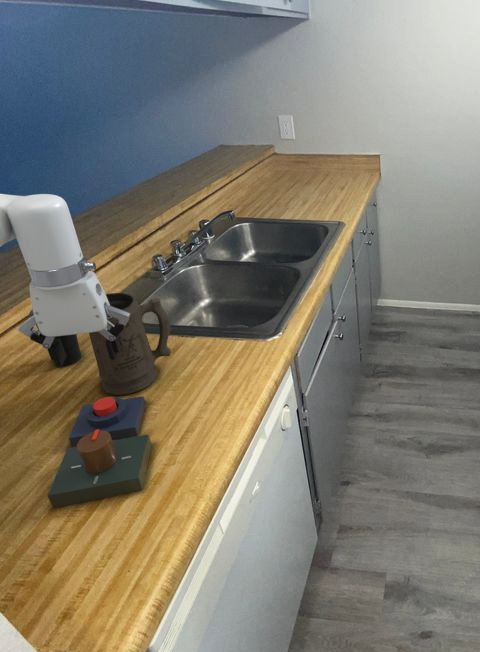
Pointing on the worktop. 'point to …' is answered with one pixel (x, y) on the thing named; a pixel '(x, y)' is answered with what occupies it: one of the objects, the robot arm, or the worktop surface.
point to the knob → (97, 451)
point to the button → (105, 406)
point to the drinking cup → (68, 346)
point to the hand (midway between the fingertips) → (88, 358)
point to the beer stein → (131, 347)
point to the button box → (110, 420)
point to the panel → (101, 474)
